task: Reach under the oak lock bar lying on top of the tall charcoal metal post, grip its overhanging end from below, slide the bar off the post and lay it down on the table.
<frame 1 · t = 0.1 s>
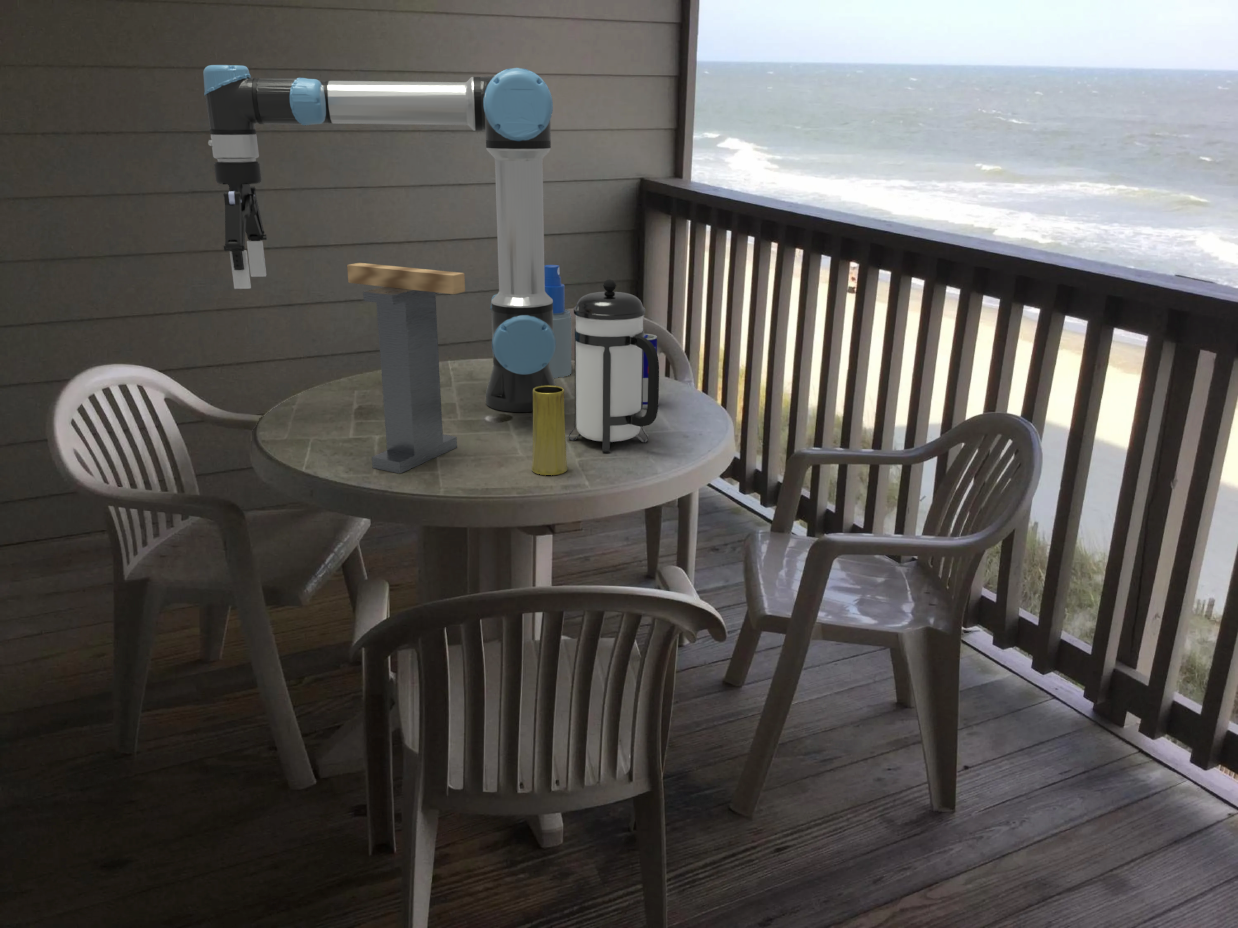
hand: (251, 282, 181), 28 cm above the table, tool pointing down, fingers open, 13 cm apart
charcoal post: (416, 457, 175), on the table
vase: (549, 471, 170), on the table
oak bar: (405, 287, 165), point 30 cm above the table, touching charcoal post
coffee press: (614, 443, 185), on the table
spray bottle: (552, 374, 232), on the table
beverage can: (643, 407, 207), on the table
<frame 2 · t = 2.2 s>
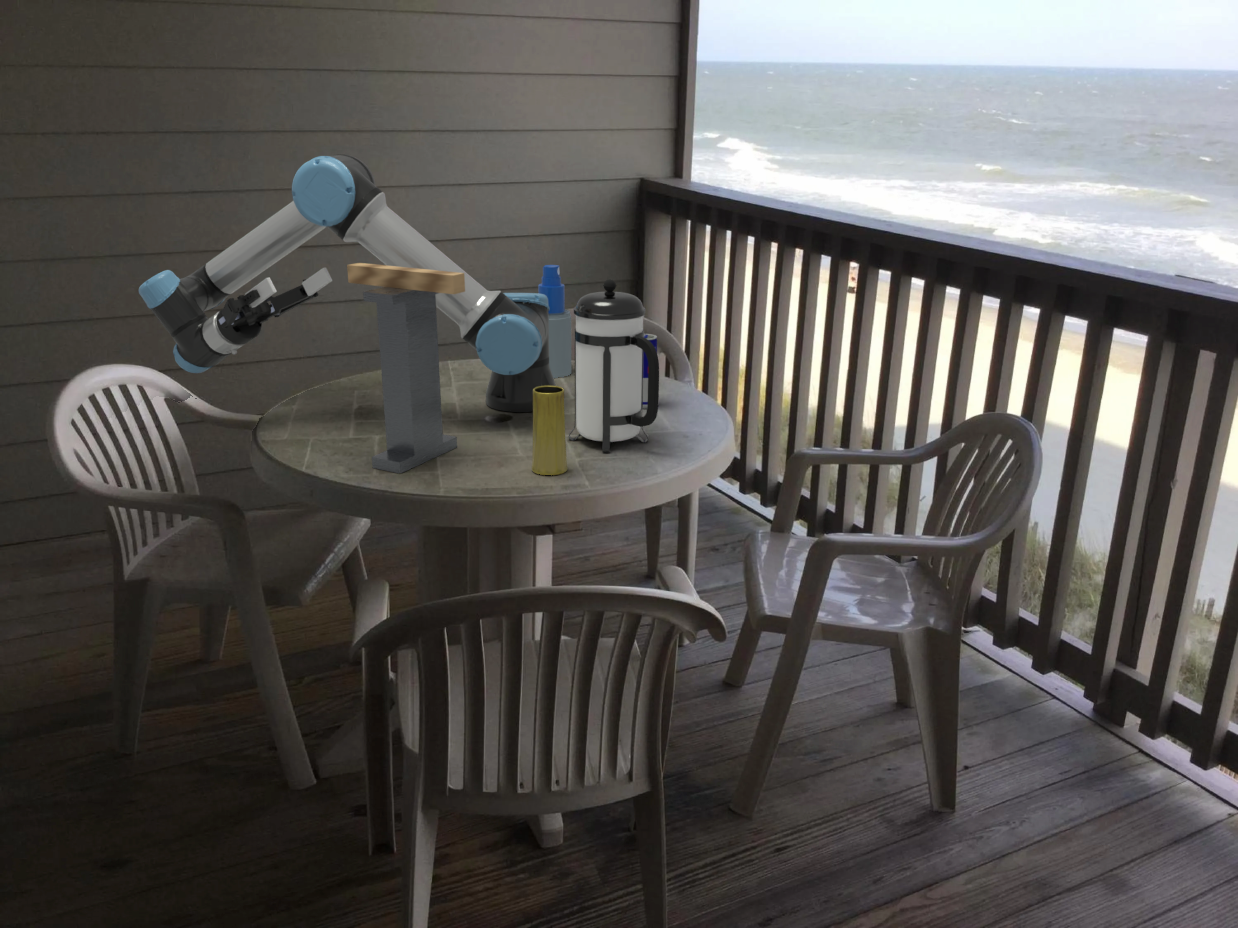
hand: (300, 279, 176), 29 cm above the table, tool pointing upward, fingers open, 13 cm apart
nothing on the table moved.
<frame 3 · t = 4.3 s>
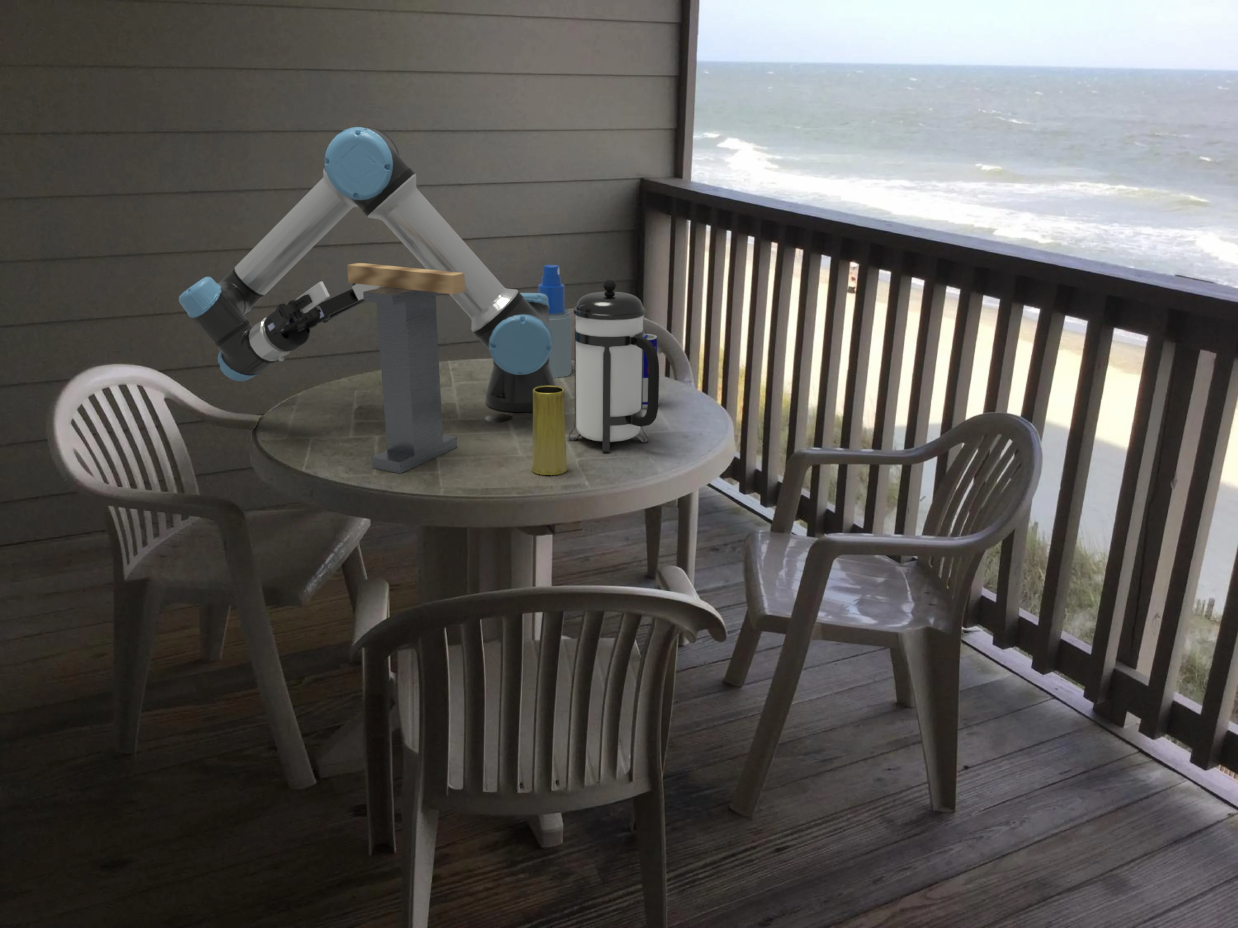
hand: (353, 283, 170), 30 cm above the table, tool pointing upward, fingers open, 13 cm apart
nothing on the table moved.
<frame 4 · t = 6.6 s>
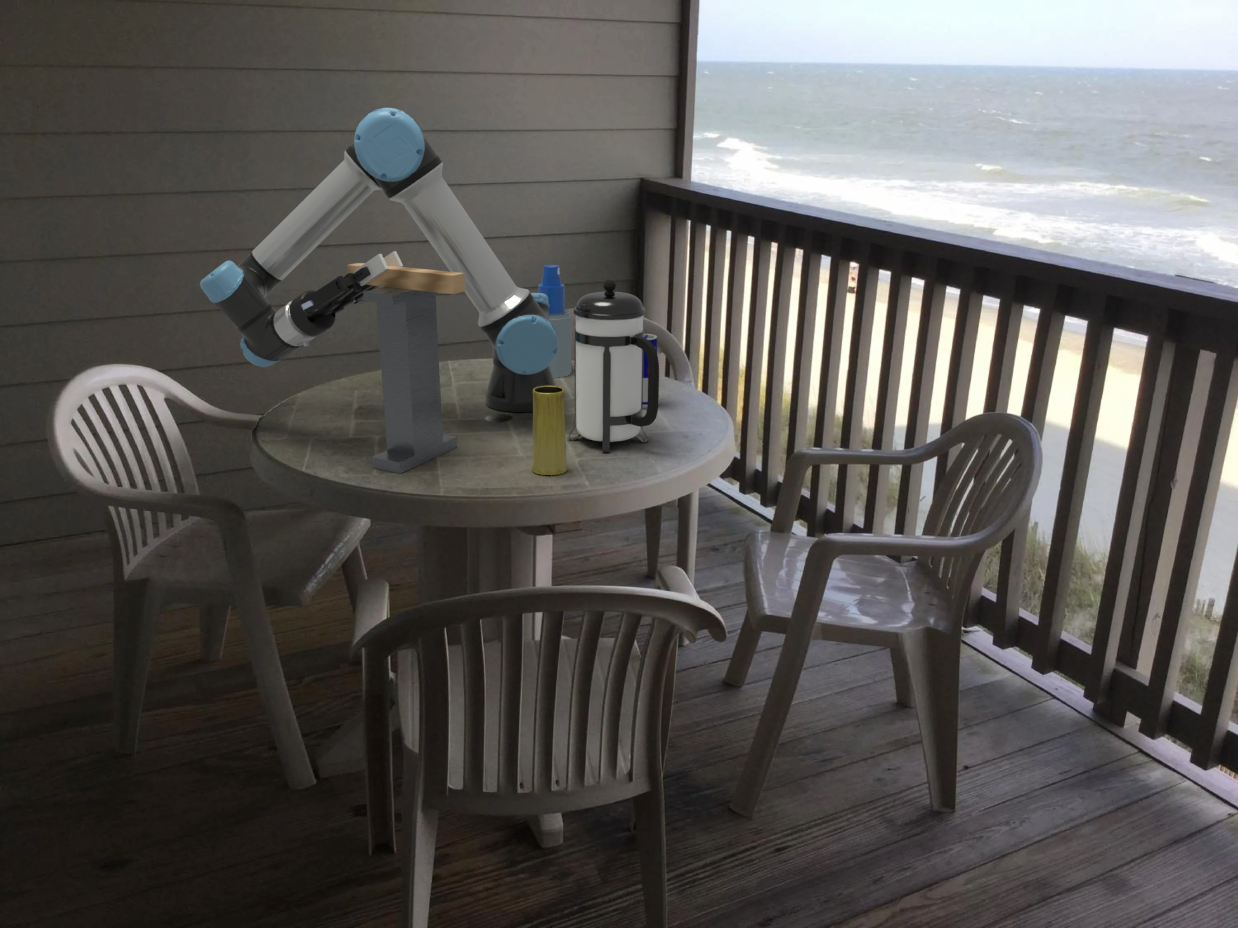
hand: (390, 260, 165), 34 cm above the table, tool pointing upward, fingers closed on oak bar, 3 cm apart
oak bar: (405, 287, 165), point 30 cm above the table, touching charcoal post, gripper
everything else where it was.
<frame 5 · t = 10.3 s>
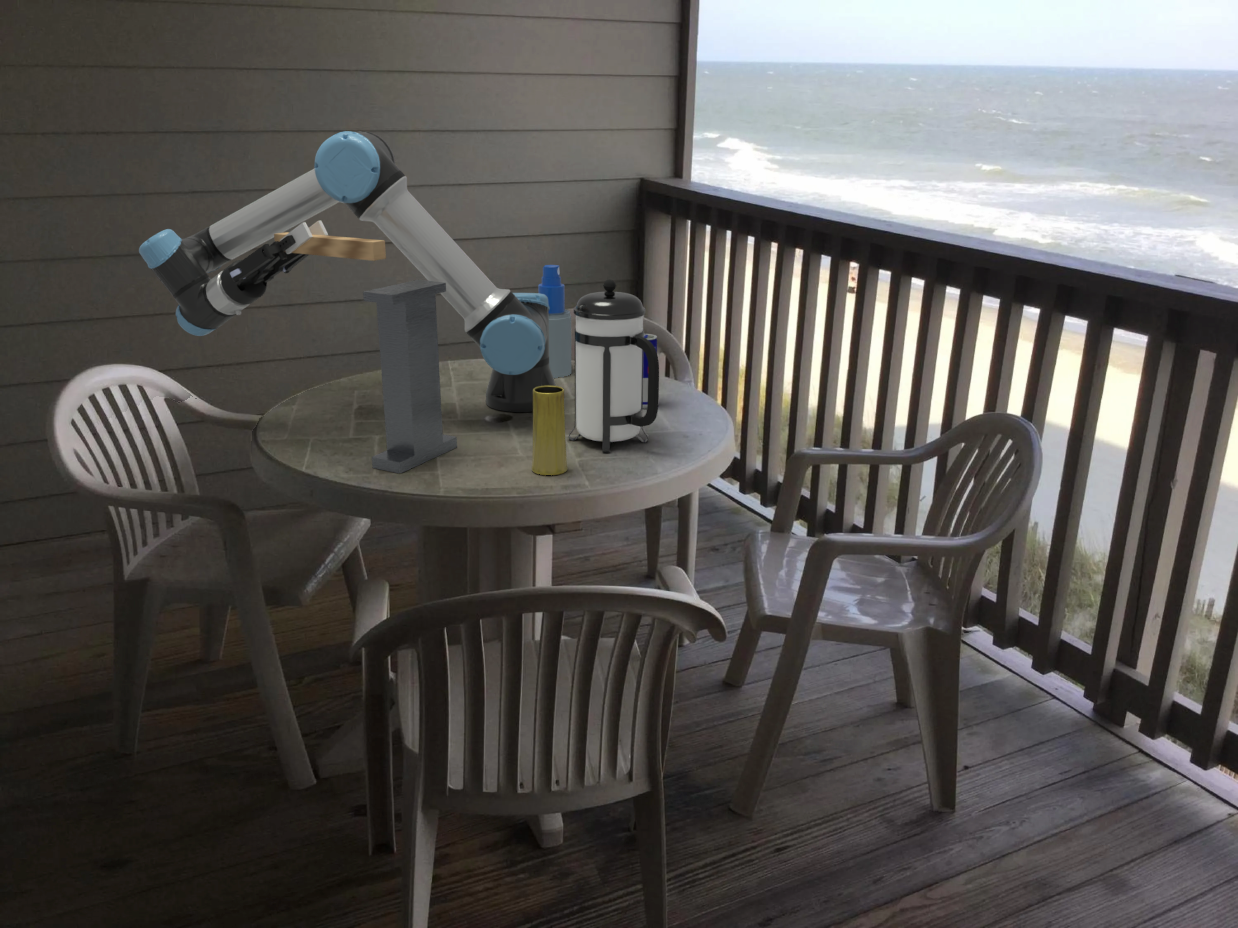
hand: (315, 228, 170), 38 cm above the table, tool pointing upward, fingers closed on oak bar, 3 cm apart
oak bar: (329, 255, 170), point 34 cm above the table, touching gripper
everything else where it was.
when the fingers open (12 cm above the table, at t = 14.1 s): oak bar drops 7 cm, on the table.
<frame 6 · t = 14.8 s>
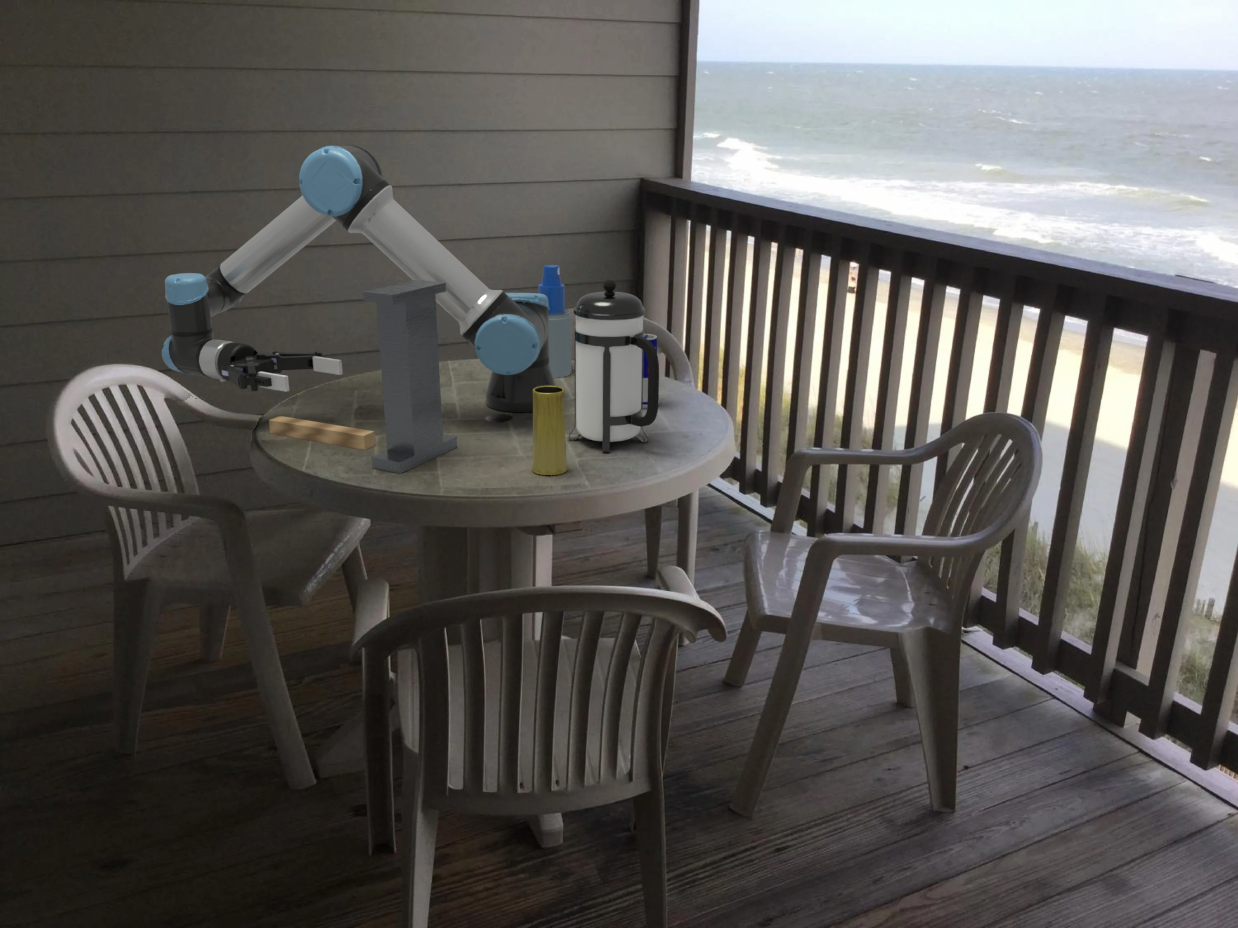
hand: (314, 375, 181), 12 cm above the table, tool horizontal, fingers open, 13 cm apart
oak bar: (322, 441, 185), on the table
everything else where it was.
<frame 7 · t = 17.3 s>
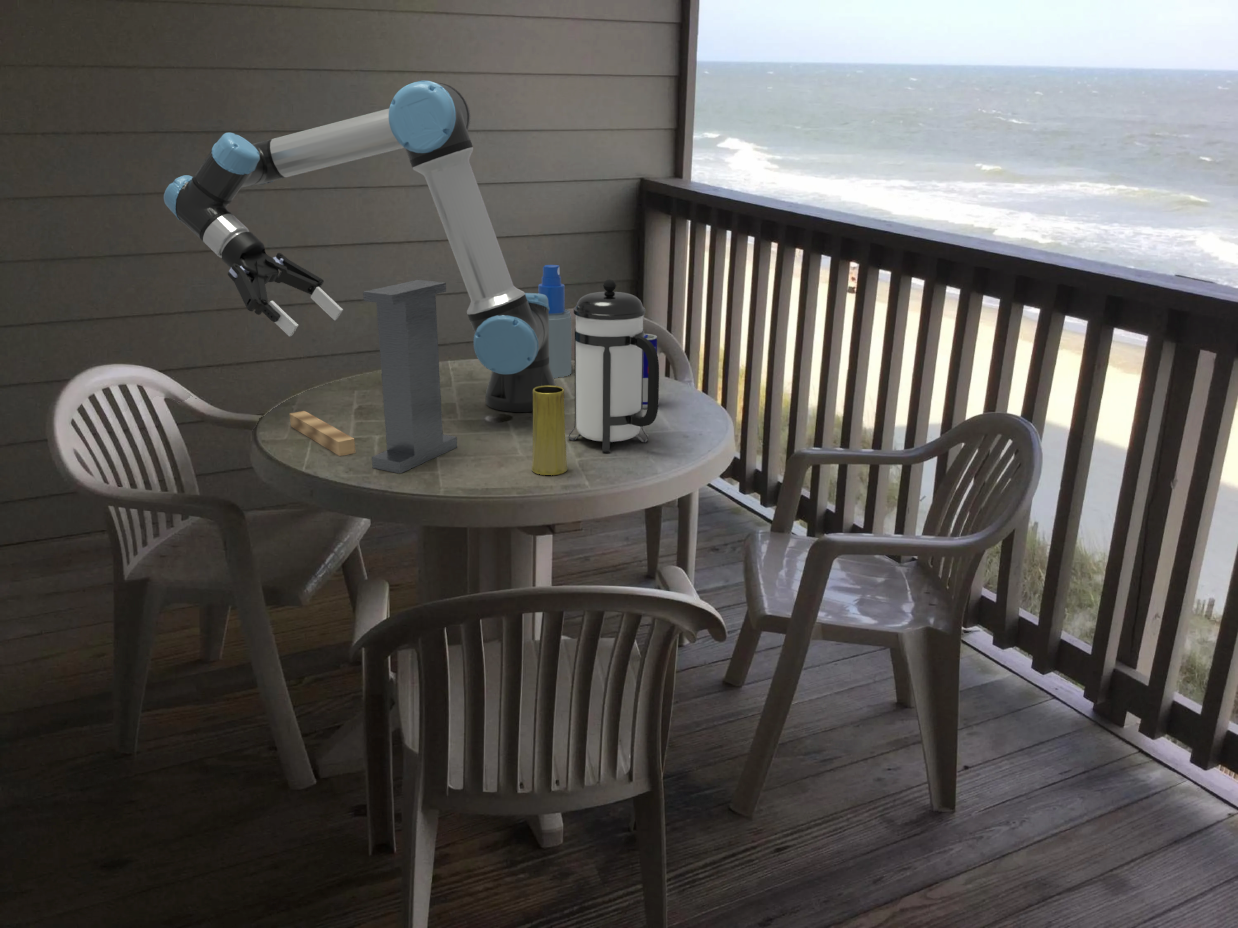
hand: (317, 323, 185), 20 cm above the table, tool tilted 50°, fingers open, 13 cm apart
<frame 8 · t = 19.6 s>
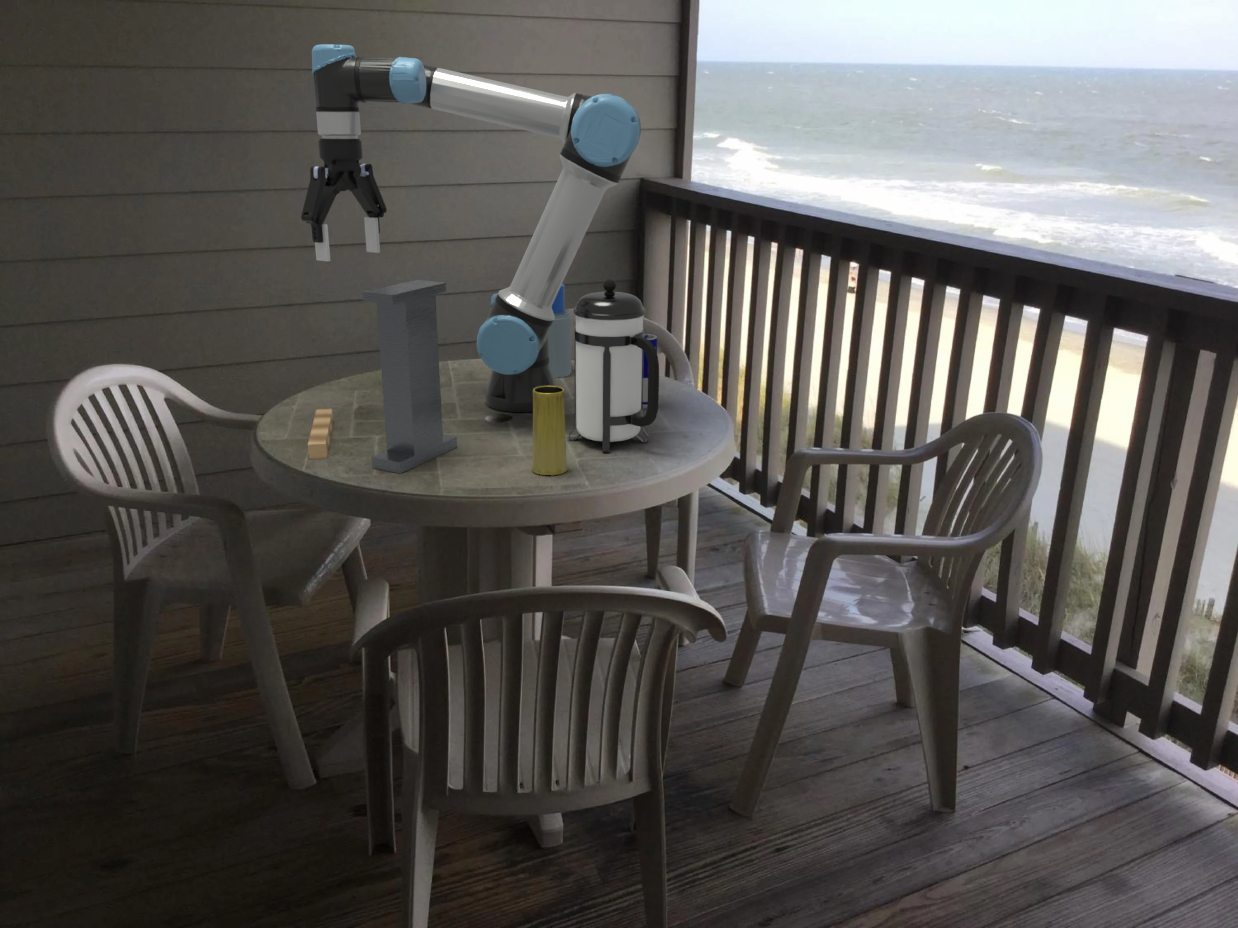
hand: (349, 256, 186), 32 cm above the table, tool pointing down, fingers open, 13 cm apart
at the end: oak bar inside the target area (3.1 cm from its centre), on the table; oak bar touching table; the gripper is holding nothing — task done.
